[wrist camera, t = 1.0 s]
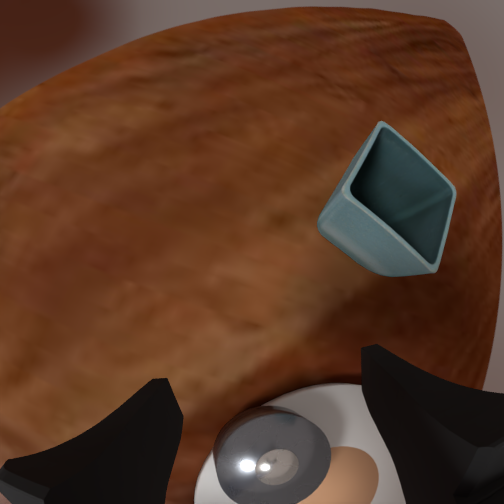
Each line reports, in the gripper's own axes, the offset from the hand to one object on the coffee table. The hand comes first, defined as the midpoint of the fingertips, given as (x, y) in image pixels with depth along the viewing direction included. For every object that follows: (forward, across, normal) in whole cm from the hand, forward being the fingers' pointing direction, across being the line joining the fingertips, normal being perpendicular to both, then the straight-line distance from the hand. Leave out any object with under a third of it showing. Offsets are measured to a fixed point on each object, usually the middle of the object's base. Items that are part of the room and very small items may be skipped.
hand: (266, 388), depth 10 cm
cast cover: (+6, +2, +12) cm, 14 cm away
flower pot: (+18, -9, -1) cm, 21 cm away
